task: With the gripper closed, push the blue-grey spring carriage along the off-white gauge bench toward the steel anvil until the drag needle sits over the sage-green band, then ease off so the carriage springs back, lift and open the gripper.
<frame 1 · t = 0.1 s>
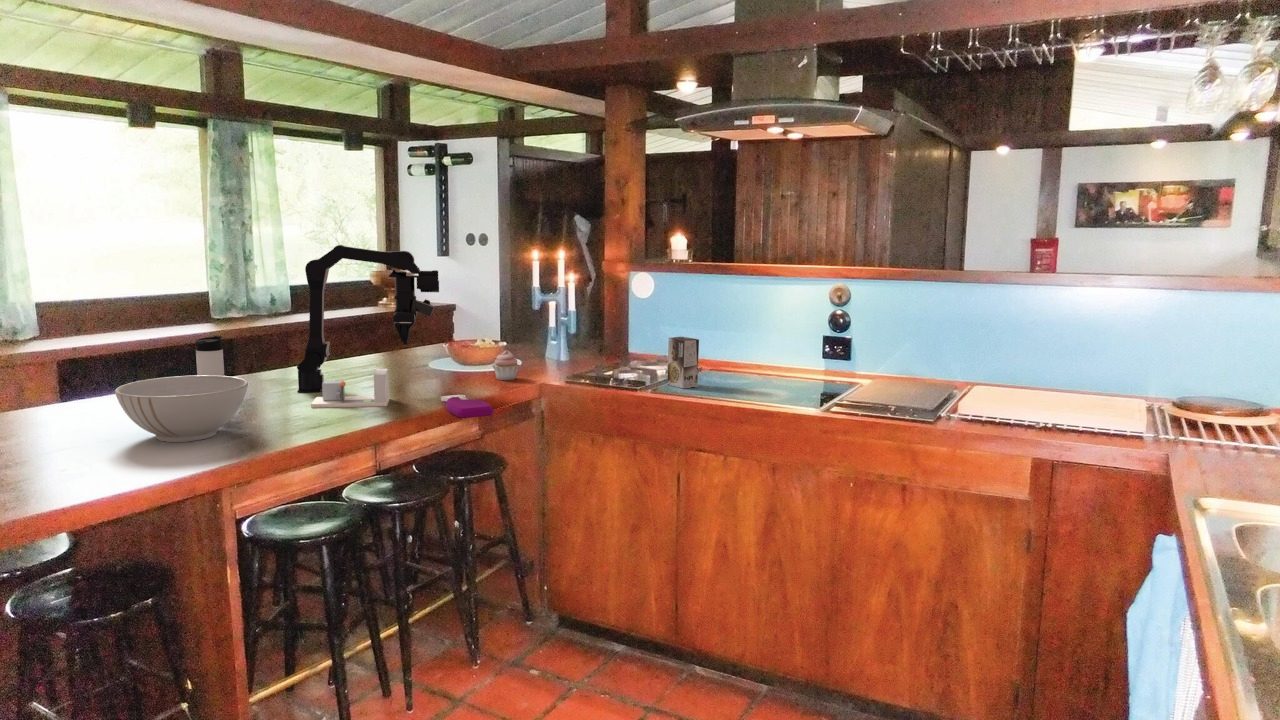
hand: (406, 342, 246), 15 cm above the counter, tool pointing down, fingers open, 9 cm apart
coffee box: (682, 386, 266), on the counter
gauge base: (355, 403, 226), on the counter
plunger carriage: (332, 391, 224), point 4 cm above the counter, slide at 0.0 cm
decorative bowl: (187, 436, 187), on the counter
cupcake: (506, 379, 269), on the counter
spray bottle: (463, 410, 224), on the counter
drag needle: (342, 390, 223), point 4 cm above the counter, slide at 0.0 cm
travel mug: (213, 412, 211), on the counter
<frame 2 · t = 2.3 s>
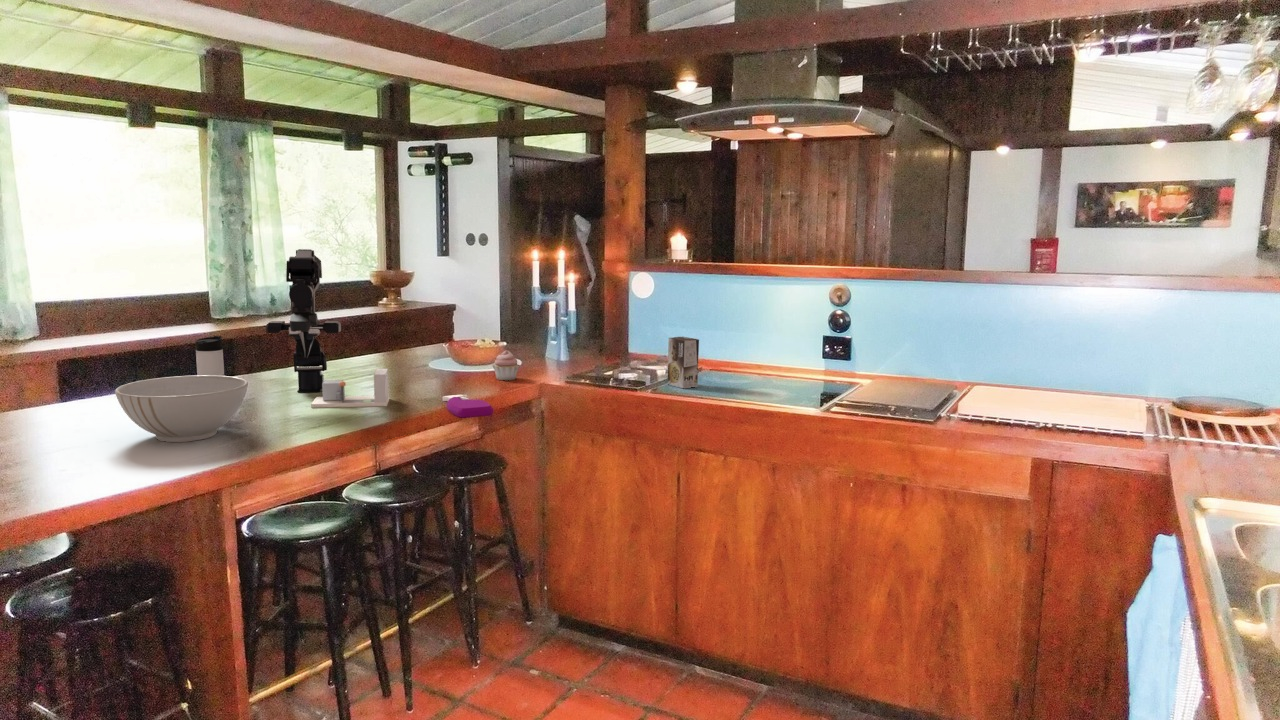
hand: (305, 357, 223), 13 cm above the counter, tool pointing down, fingers closed
nothing on the counter moved.
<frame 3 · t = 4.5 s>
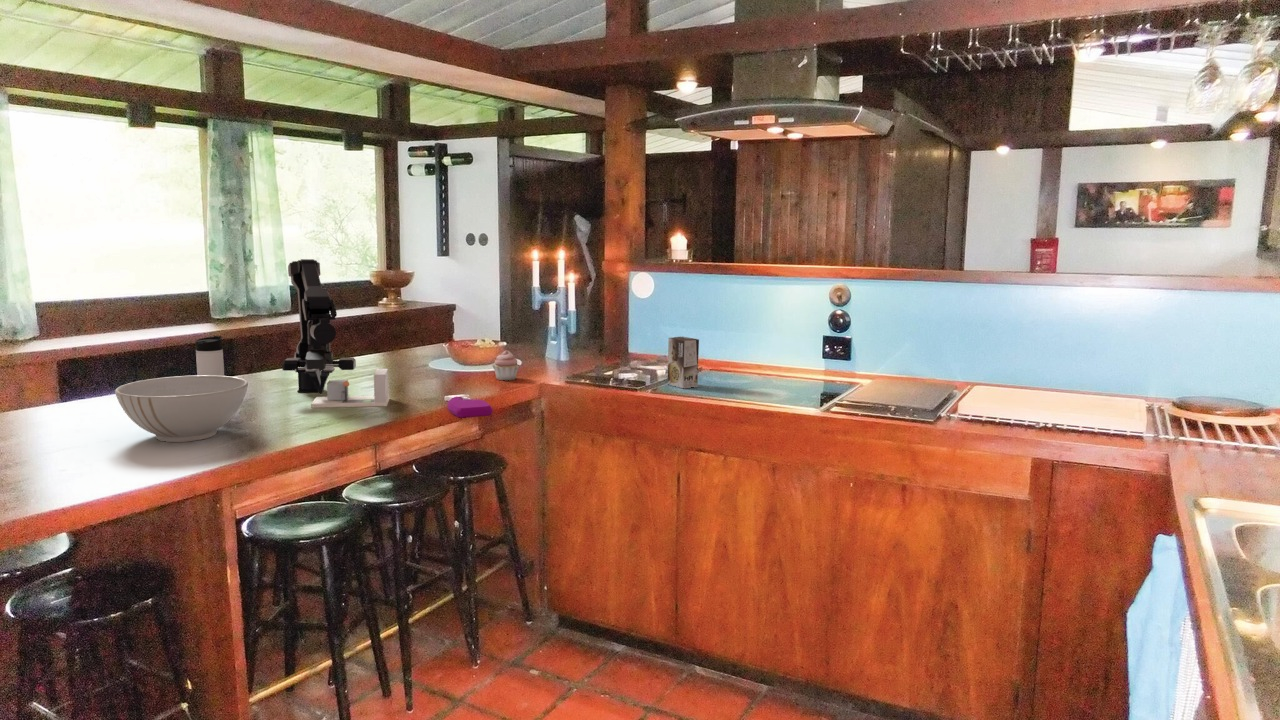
hand: (320, 393, 225), 3 cm above the counter, tool pointing down, fingers closed
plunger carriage: (337, 391, 224), point 4 cm above the counter, slide at 1.3 cm, touching drag needle, gripper
drag needle: (346, 390, 223), point 4 cm above the counter, slide at 1.0 cm, touching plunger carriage
everything else where it was.
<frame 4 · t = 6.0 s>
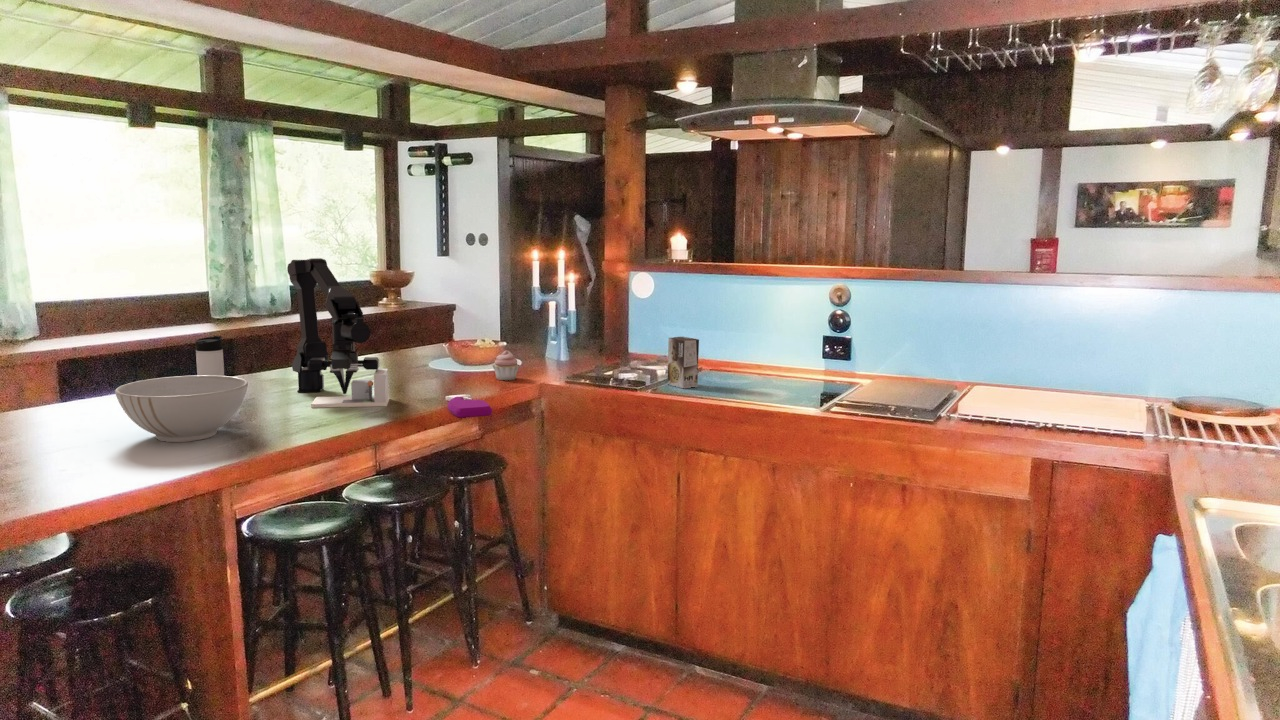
hand: (345, 393, 227), 3 cm above the counter, tool pointing down, fingers closed
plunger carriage: (361, 390, 226), point 4 cm above the counter, slide at 7.7 cm, touching drag needle, gripper
drag needle: (370, 390, 224), point 4 cm above the counter, slide at 7.4 cm, touching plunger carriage
everything else where it was.
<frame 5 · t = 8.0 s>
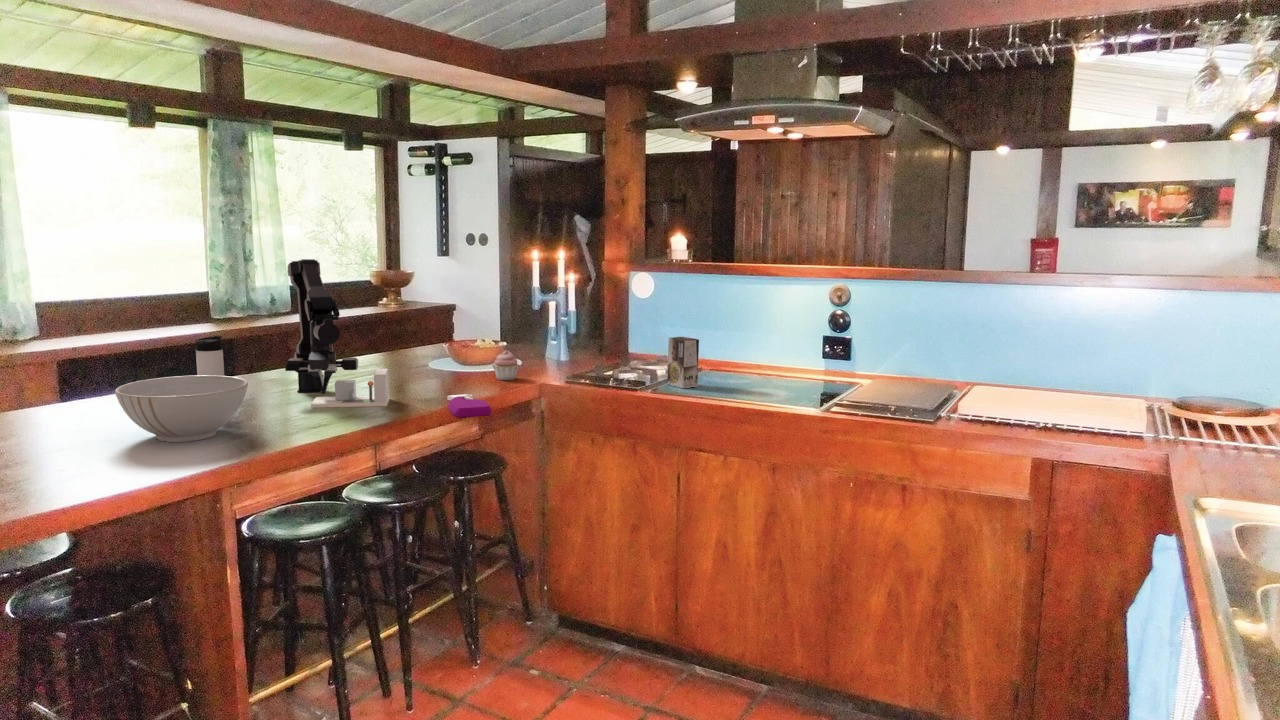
hand: (323, 394, 225), 2 cm above the counter, tool pointing down, fingers closed
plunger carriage: (344, 390, 225), point 4 cm above the counter, slide at 3.3 cm
drag needle: (370, 390, 224), point 4 cm above the counter, slide at 7.4 cm
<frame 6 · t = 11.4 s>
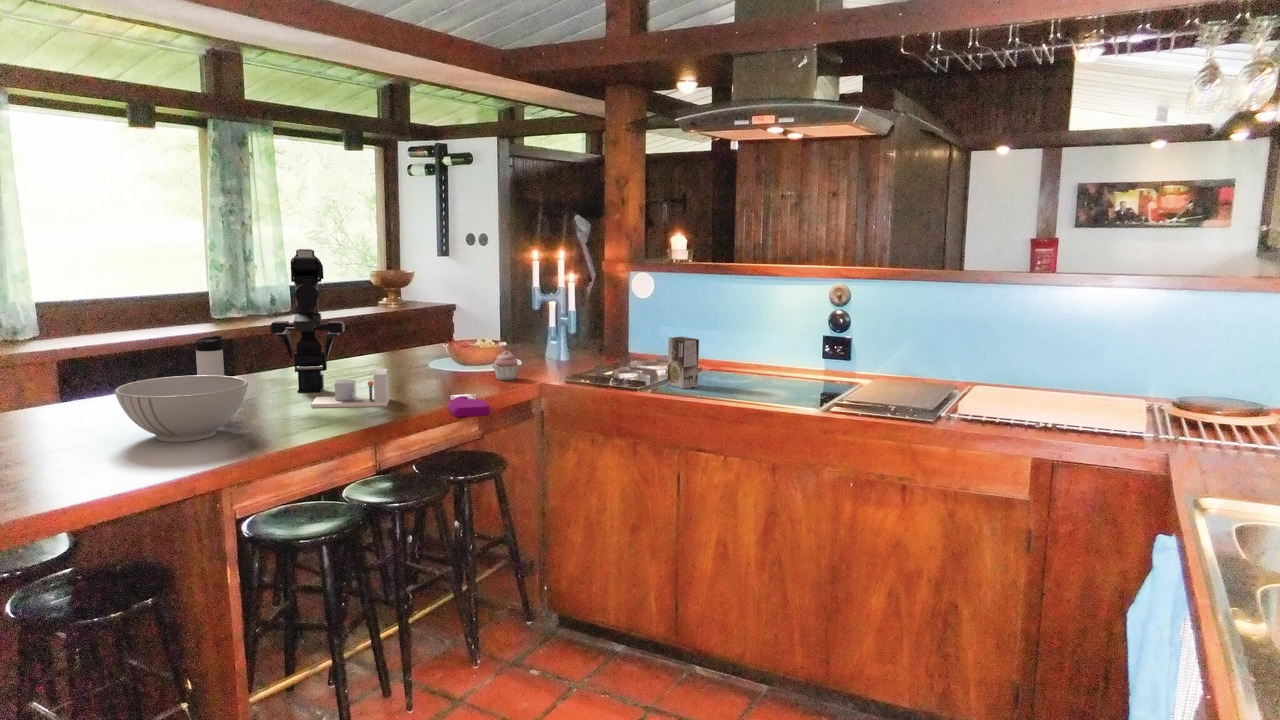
hand: (309, 357, 223), 13 cm above the counter, tool pointing down, fingers open, 9 cm apart
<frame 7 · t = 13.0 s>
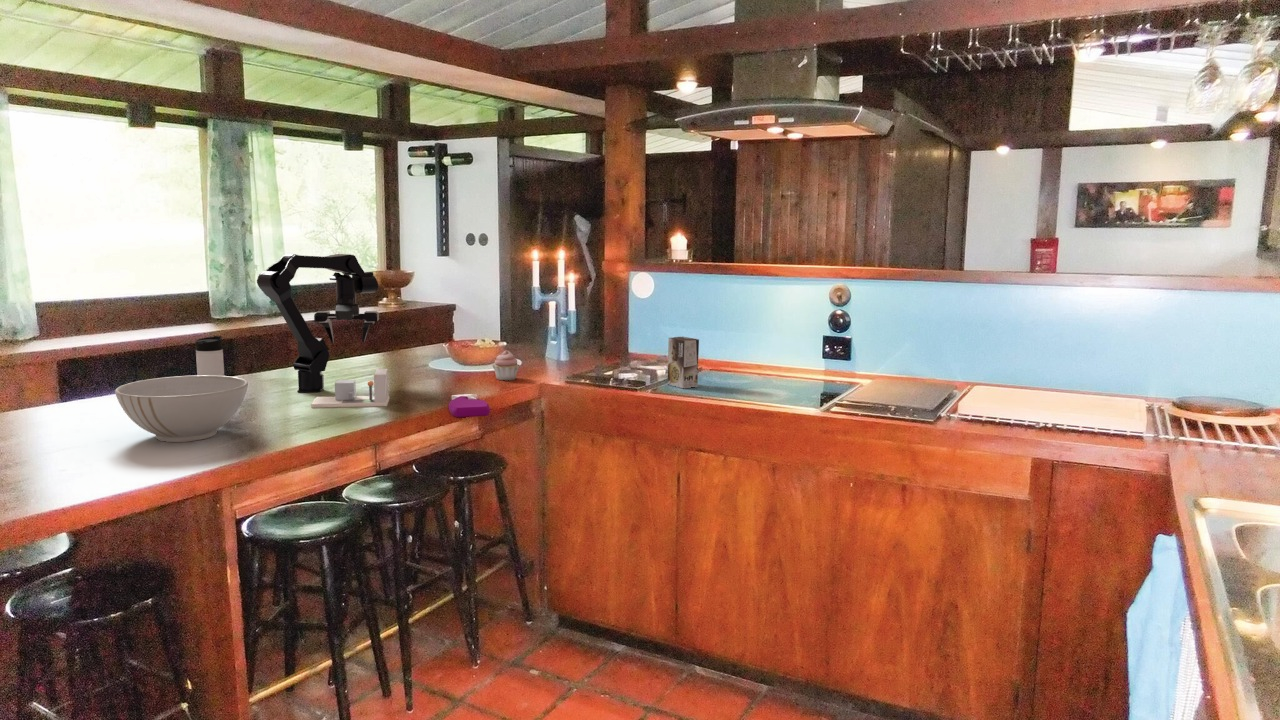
hand: (348, 343, 252), 13 cm above the counter, tool pointing down, fingers open, 9 cm apart
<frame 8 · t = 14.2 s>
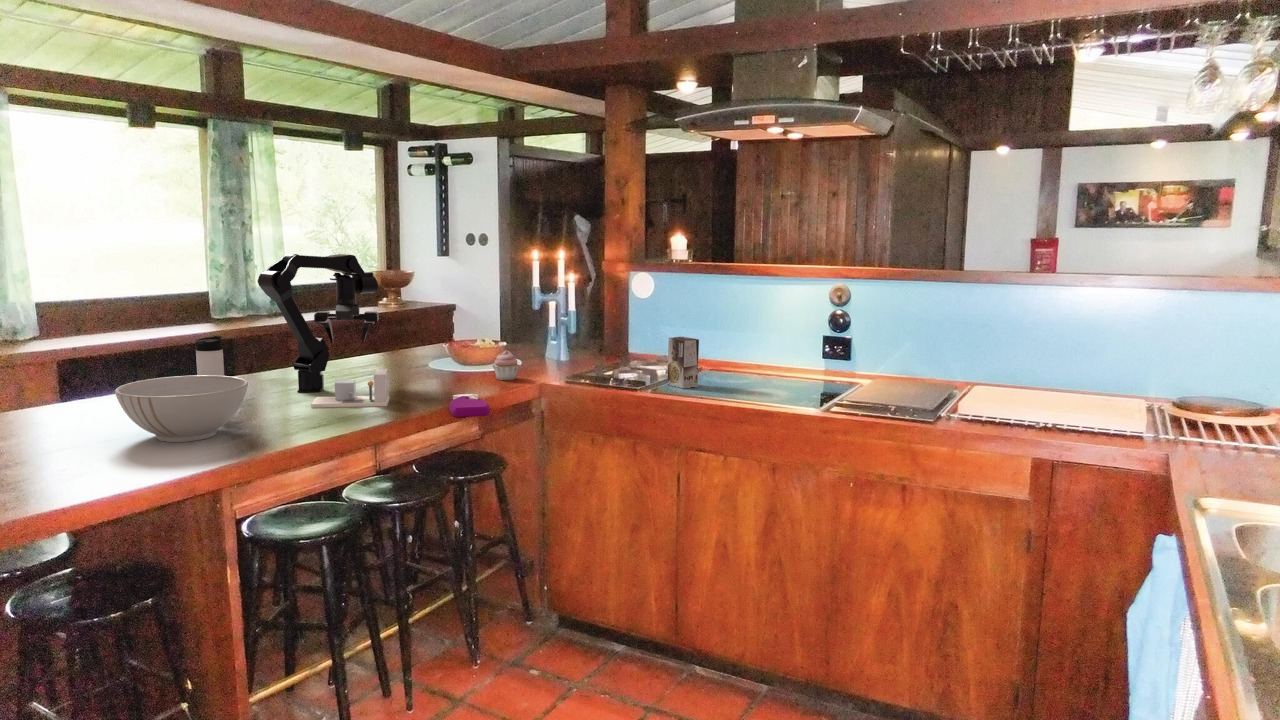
hand: (347, 343, 252), 13 cm above the counter, tool pointing down, fingers open, 9 cm apart
at the end: drag needle slide at 7.4 cm; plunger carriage slide at 3.3 cm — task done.
